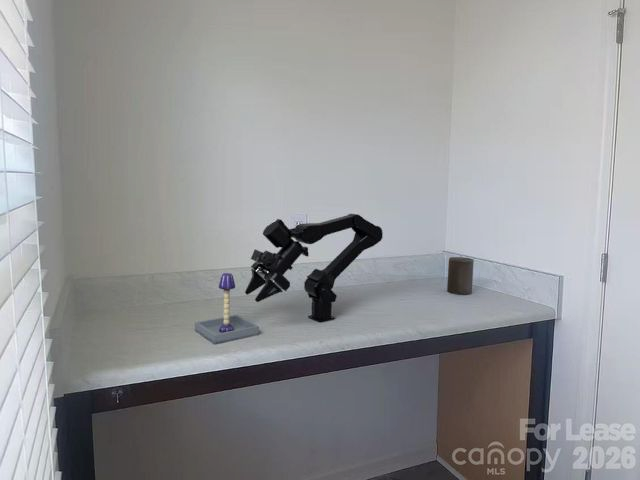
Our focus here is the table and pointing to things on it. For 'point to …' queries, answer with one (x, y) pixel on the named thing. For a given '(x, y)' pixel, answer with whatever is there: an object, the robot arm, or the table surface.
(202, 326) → the desk tray
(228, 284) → the toy lamp
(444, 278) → the table surface
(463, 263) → the pillar candle
